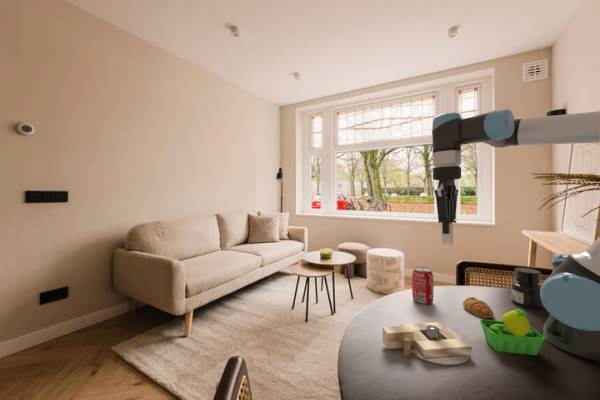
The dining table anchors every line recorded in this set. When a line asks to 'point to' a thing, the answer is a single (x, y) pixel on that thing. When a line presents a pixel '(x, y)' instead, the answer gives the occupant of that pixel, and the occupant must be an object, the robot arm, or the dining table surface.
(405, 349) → the dowel
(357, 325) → the dining table surface
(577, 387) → the dining table surface
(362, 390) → the dining table surface
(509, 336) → the fruit basket
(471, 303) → the pastry
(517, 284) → the ink bottle
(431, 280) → the soda can
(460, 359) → the pot lid
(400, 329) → the wooden block frame
